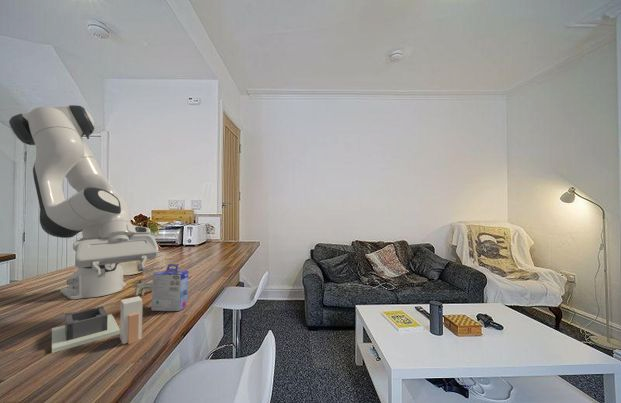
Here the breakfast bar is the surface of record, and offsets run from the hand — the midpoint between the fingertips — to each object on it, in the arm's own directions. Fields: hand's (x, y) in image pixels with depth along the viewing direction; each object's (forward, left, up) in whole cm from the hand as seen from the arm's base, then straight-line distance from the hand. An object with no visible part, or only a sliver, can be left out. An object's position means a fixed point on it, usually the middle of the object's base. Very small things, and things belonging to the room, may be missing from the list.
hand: (122, 273), depth 74 cm
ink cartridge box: (+2, +14, -15) cm, 21 cm away
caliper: (-17, +26, -15) cm, 35 cm away
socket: (-4, -7, -15) cm, 17 cm away
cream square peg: (+10, -4, -15) cm, 19 cm away
